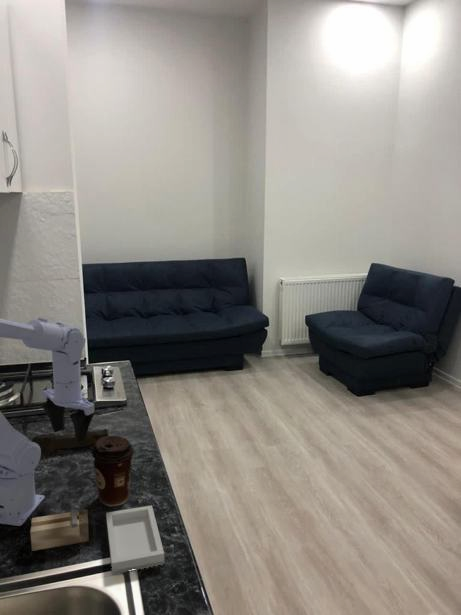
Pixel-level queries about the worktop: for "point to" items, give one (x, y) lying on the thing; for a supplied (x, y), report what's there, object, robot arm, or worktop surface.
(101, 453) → the coffee cup
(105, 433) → the hand tool
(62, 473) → the worktop surface
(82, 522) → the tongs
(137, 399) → the worktop surface
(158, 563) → the tray
